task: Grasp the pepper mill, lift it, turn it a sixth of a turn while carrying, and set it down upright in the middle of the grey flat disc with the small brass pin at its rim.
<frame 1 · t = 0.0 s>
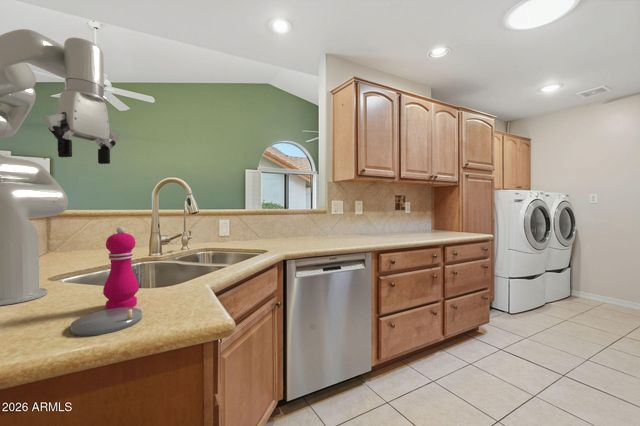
hand: (86, 160, 70), 37 cm above the countertop, tool pointing down, fingers open, 9 cm apart
grey flat disc: (108, 323, 59), on the countertop
pepper mill: (121, 307, 69), on the countertop
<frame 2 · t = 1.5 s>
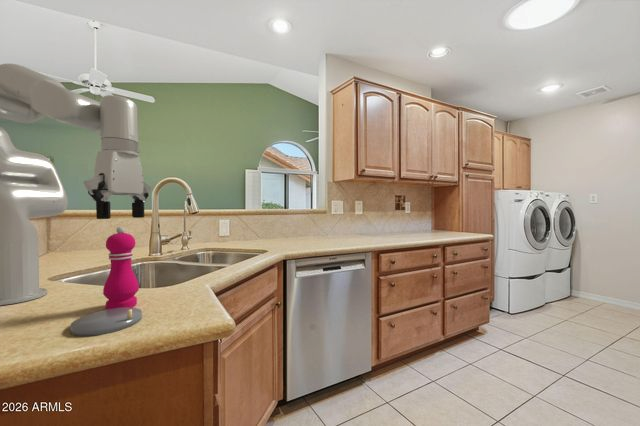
hand: (122, 218, 68), 22 cm above the countertop, tool pointing down, fingers open, 9 cm apart
nothing on the countertop moved.
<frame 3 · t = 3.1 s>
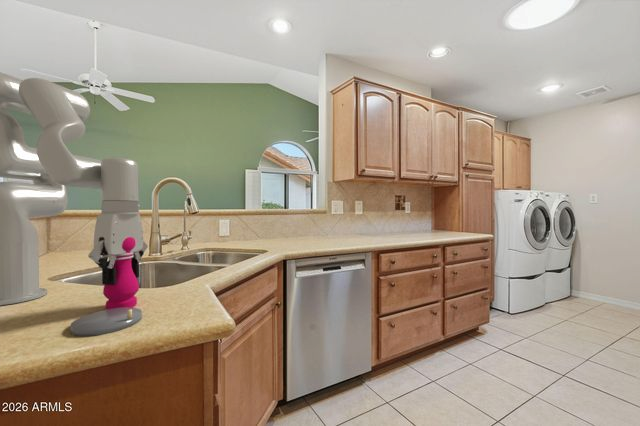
hand: (121, 280, 69), 7 cm above the countertop, tool pointing down, fingers closed on pepper mill, 5 cm apart
pepper mill: (121, 307, 69), on the countertop, touching gripper
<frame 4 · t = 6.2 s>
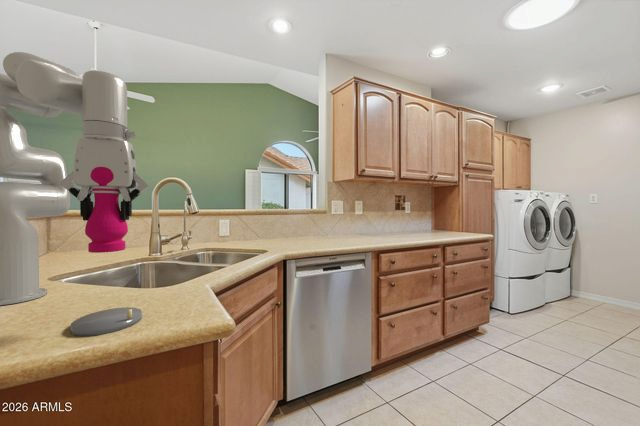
hand: (107, 219, 58), 22 cm above the countertop, tool pointing down, fingers closed on pepper mill, 5 cm apart
pepper mill: (107, 251, 59), point 15 cm above the countertop, touching gripper
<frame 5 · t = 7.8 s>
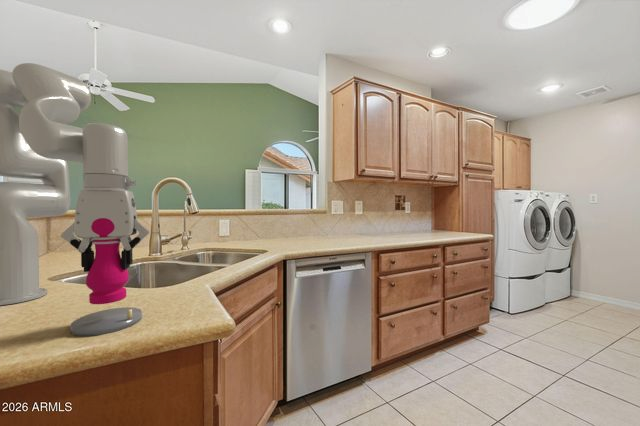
hand: (107, 268, 59), 12 cm above the countertop, tool pointing down, fingers closed on pepper mill, 5 cm apart
pepper mill: (108, 300, 59), point 5 cm above the countertop, touching gripper
when the fingers open (8 cm above the countertop, at t = 9.0 s): pepper mill stays where it is, resting on grey flat disc.
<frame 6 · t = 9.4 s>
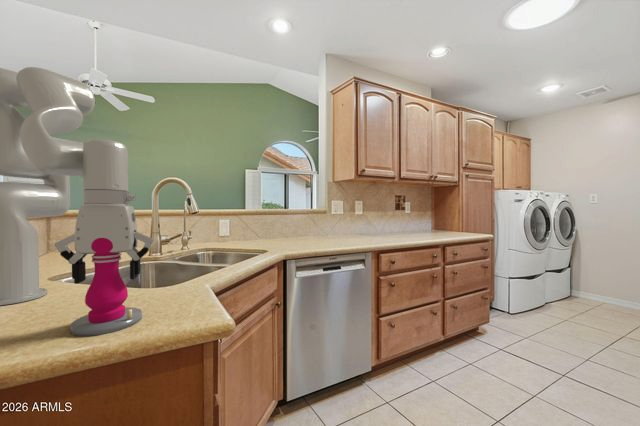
hand: (107, 279, 59), 9 cm above the countertop, tool pointing down, fingers open, 9 cm apart
pepper mill: (107, 318, 59), point 1 cm above the countertop, touching grey flat disc
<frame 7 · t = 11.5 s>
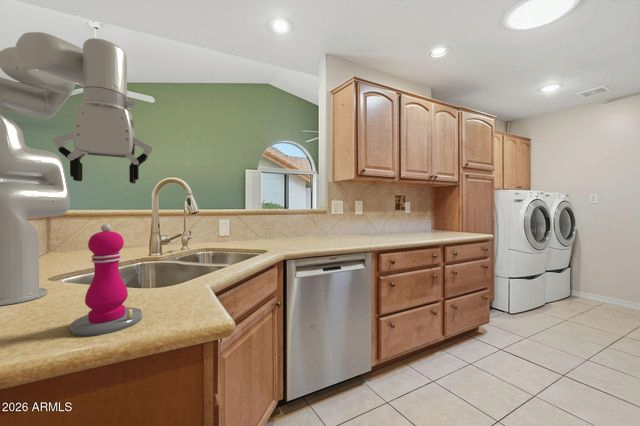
hand: (106, 181, 60), 30 cm above the countertop, tool pointing down, fingers open, 9 cm apart
nothing on the countertop moved.
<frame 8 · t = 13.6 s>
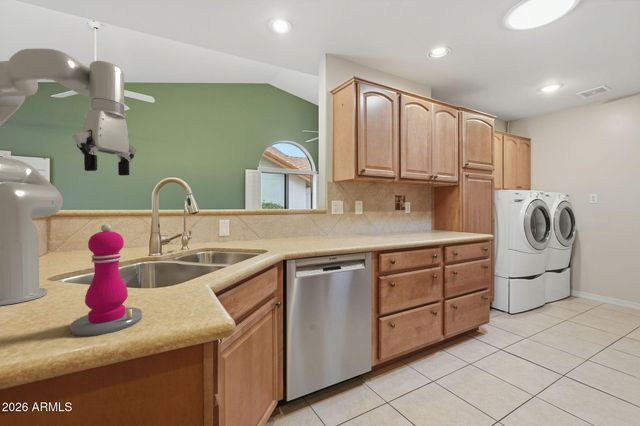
hand: (108, 173, 76), 34 cm above the countertop, tool pointing down, fingers open, 9 cm apart
nothing on the countertop moved.
at the end: pepper mill 0.3 cm off-centre on the grey flat disc, point 1.0 cm above the grey flat disc's base; pepper mill tilted 0°; the gripper is holding nothing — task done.
